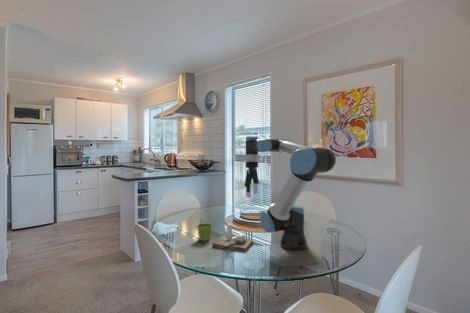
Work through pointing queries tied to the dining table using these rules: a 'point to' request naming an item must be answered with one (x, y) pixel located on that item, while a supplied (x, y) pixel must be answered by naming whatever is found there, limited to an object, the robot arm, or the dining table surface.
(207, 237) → the plant pot
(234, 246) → the board
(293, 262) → the dining table surface
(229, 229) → the peg
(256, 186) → the robot arm
